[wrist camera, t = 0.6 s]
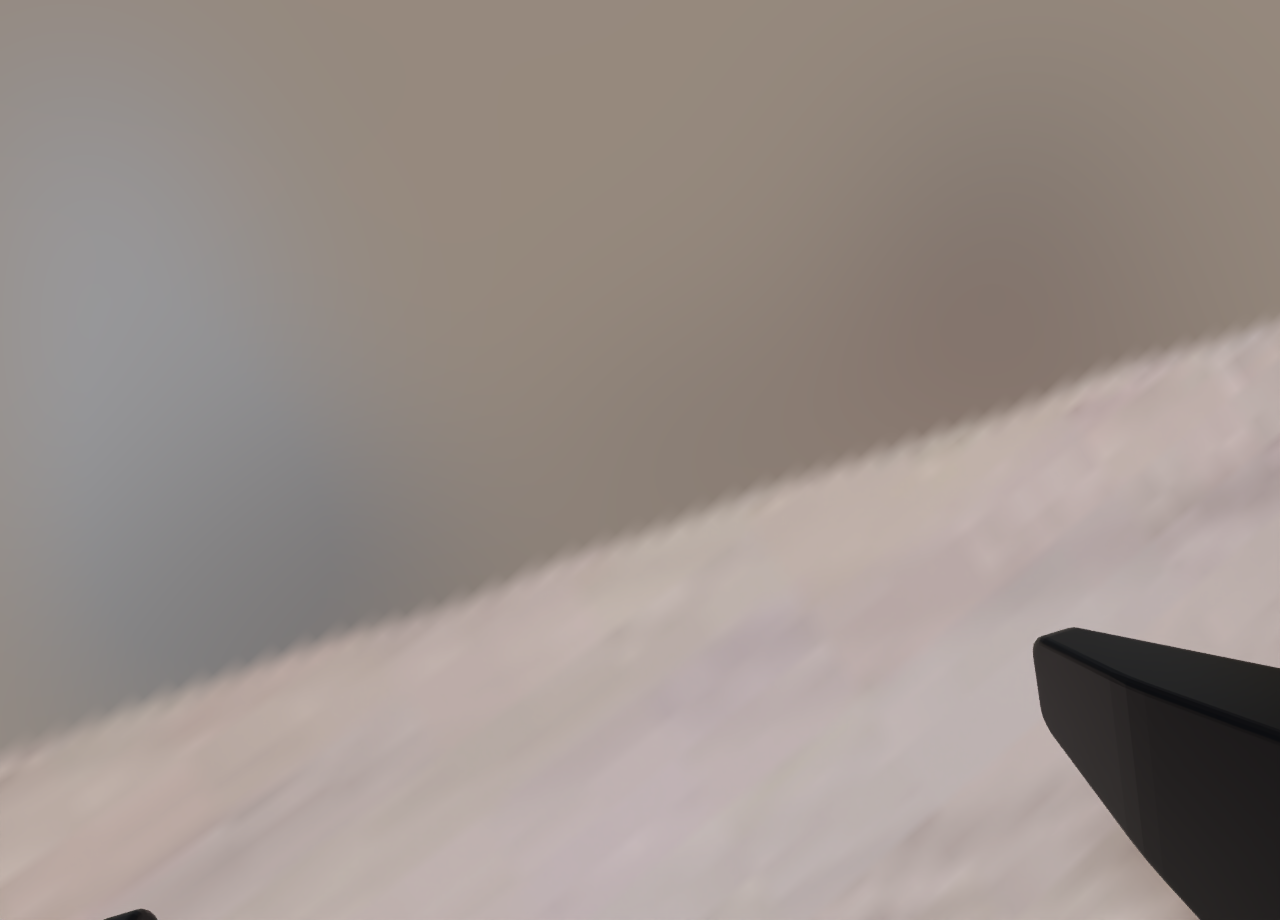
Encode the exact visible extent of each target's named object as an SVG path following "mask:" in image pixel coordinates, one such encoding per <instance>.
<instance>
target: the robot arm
mask: <svg viewBox="0 0 1280 920" xmlns="http://www.w3.org/2000/svg"><path fill="white" fill-rule="evenodd" d="M1033 658H1034V665H1035V672H1036V679H1037V686H1038V693H1039V700H1040V707H1041V712H1042V715H1043V718H1044V720H1045V723H1046V725H1047V727H1048V728H1049V730H1050V732H1051V733H1052V735H1053V736H1054V738H1055V739H1056V740H1057V742H1058V743H1059V744H1060V746H1061V747H1062V748H1063V750H1064V751H1065V752H1066V754H1067V755H1068V756H1069V758H1070V759H1071V760H1072V762H1073V763H1074V765H1075V766H1076V767H1077V769H1078V770H1079V771H1080V773H1081V774H1082V775H1083V777H1084V778H1085V779H1086V781H1087V782H1088V783H1089V785H1090V786H1091V787H1092V789H1093V790H1094V791H1095V793H1096V794H1097V796H1098V797H1099V798H1100V800H1101V801H1102V802H1103V804H1104V805H1105V806H1106V808H1107V809H1108V810H1109V812H1110V813H1111V814H1112V816H1113V817H1114V818H1115V820H1116V821H1117V822H1118V824H1119V825H1120V827H1121V828H1122V829H1123V831H1124V832H1125V833H1126V835H1127V836H1128V837H1129V839H1130V840H1131V841H1132V842H1133V844H1134V845H1135V846H1136V847H1137V849H1138V850H1139V851H1140V853H1141V854H1142V855H1143V856H1144V858H1145V859H1146V860H1147V861H1148V862H1149V863H1150V865H1151V866H1152V867H1153V868H1154V869H1155V870H1156V871H1157V873H1158V874H1159V875H1160V876H1161V877H1162V878H1163V880H1164V881H1165V882H1166V883H1167V884H1168V885H1169V886H1170V887H1171V888H1172V889H1173V890H1174V892H1175V893H1176V894H1177V895H1178V896H1179V897H1180V898H1181V899H1182V900H1183V901H1184V903H1185V904H1186V905H1187V906H1188V907H1189V908H1190V909H1191V910H1192V911H1193V912H1194V914H1195V915H1196V916H1197V917H1198V918H1199V919H1200V920H1280V668H1276V667H1271V666H1266V665H1261V664H1256V663H1251V662H1246V661H1241V660H1236V659H1231V658H1226V657H1221V656H1216V655H1211V654H1206V653H1201V652H1196V651H1191V650H1186V649H1181V648H1176V647H1171V646H1166V645H1161V644H1156V643H1151V642H1146V641H1141V640H1136V639H1131V638H1126V637H1121V636H1116V635H1111V634H1106V633H1101V632H1096V631H1091V630H1086V629H1081V628H1075V627H1073V628H1067V629H1064V630H1060V631H1057V632H1054V633H1050V634H1047V635H1044V636H1041V637H1039V638H1038V639H1037V640H1036V641H1035V643H1034V646H1033ZM104 920H157V918H156V917H155V915H154V914H153V913H152V912H150V911H148V910H145V909H137V910H133V911H130V912H127V913H123V914H120V915H117V916H113V917H110V918H107V919H104Z"/></svg>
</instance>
